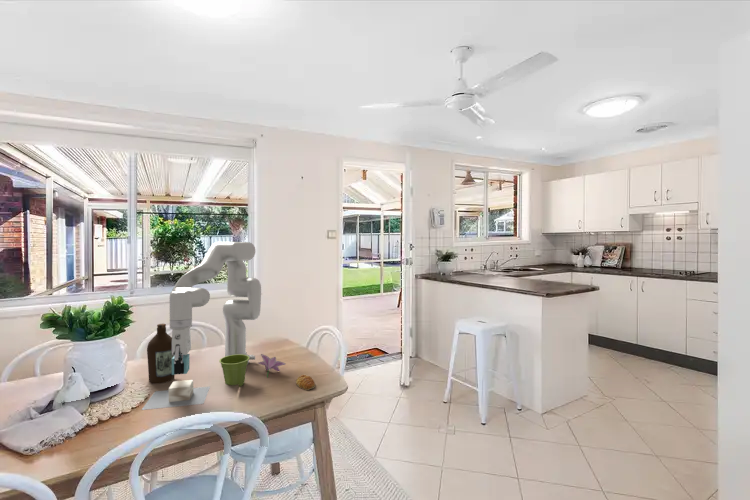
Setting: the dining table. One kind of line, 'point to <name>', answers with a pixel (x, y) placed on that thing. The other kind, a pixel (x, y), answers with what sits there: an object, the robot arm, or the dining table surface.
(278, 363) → the lily
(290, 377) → the dining table surface
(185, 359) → the teal block
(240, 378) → the plant pot
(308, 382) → the pastry
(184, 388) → the cream base block
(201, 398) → the slate board
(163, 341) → the olive oil
